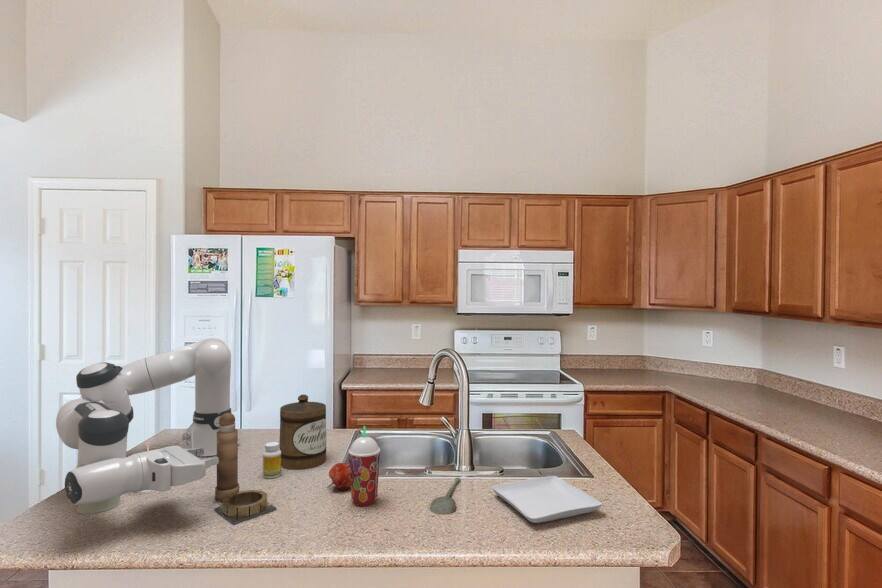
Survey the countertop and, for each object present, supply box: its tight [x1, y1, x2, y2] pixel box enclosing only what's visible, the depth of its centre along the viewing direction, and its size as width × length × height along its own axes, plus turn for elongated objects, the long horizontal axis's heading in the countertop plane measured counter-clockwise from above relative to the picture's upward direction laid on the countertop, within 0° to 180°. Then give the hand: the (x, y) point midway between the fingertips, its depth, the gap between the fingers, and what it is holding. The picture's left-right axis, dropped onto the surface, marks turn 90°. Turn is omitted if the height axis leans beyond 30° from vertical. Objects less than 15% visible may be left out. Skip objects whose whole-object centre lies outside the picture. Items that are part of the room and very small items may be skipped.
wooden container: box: [278, 394, 327, 470], centre depth 158 cm, size 15×15×22 cm
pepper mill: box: [214, 413, 240, 503], centre depth 130 cm, size 6×6×23 cm
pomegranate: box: [327, 462, 351, 491], centre depth 137 cm, size 7×7×10 cm
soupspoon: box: [429, 477, 462, 516], centre depth 131 cm, size 22×3×7 cm
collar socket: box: [214, 489, 277, 526], centre depth 123 cm, size 11×11×3 cm
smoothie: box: [348, 425, 381, 507], centre depth 128 cm, size 8×8×20 cm
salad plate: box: [491, 475, 603, 524], centre depth 126 cm, size 21×21×3 cm
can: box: [77, 496, 122, 515], centre depth 125 cm, size 9×9×12 cm
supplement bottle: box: [262, 441, 282, 479], centre depth 146 cm, size 5×5×10 cm
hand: (210, 455), depth 126 cm, fingers open, 8 cm apart
